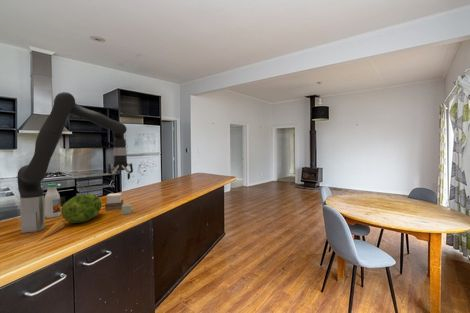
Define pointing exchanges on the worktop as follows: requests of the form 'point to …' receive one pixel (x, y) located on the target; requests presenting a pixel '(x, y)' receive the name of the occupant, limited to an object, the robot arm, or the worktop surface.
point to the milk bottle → (52, 202)
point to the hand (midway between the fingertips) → (121, 179)
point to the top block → (114, 198)
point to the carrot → (52, 230)
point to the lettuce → (81, 208)
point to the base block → (113, 206)
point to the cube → (126, 209)
